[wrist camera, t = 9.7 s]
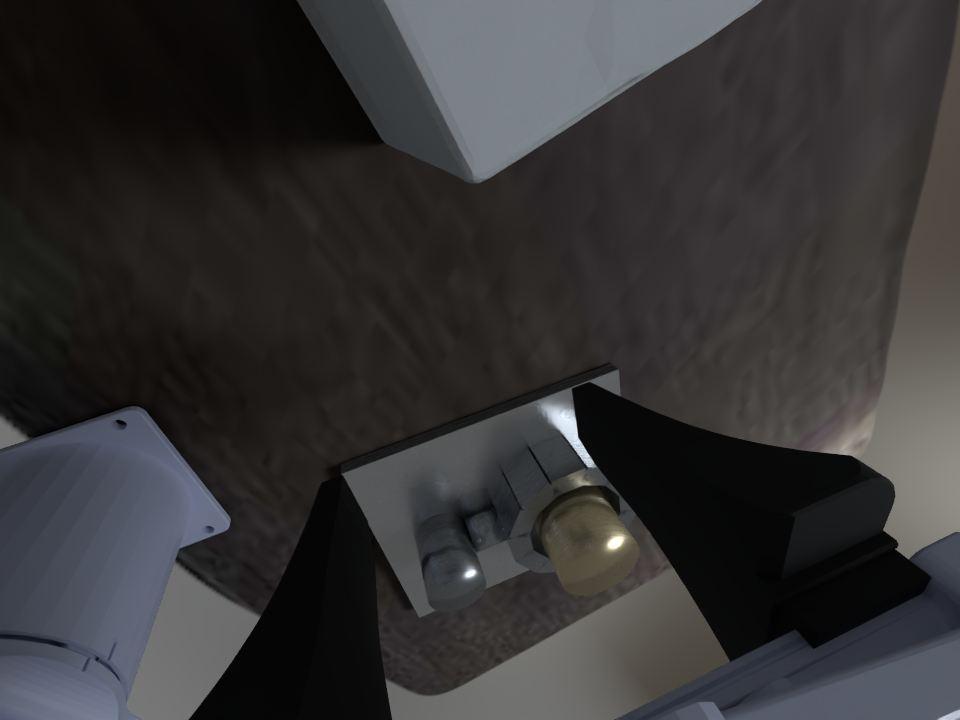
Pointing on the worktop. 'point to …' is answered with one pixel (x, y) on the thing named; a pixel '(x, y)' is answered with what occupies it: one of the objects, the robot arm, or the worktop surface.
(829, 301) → the worktop surface
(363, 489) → the manifold plate
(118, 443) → the robot arm
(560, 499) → the brass rounded plug
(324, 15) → the small box
